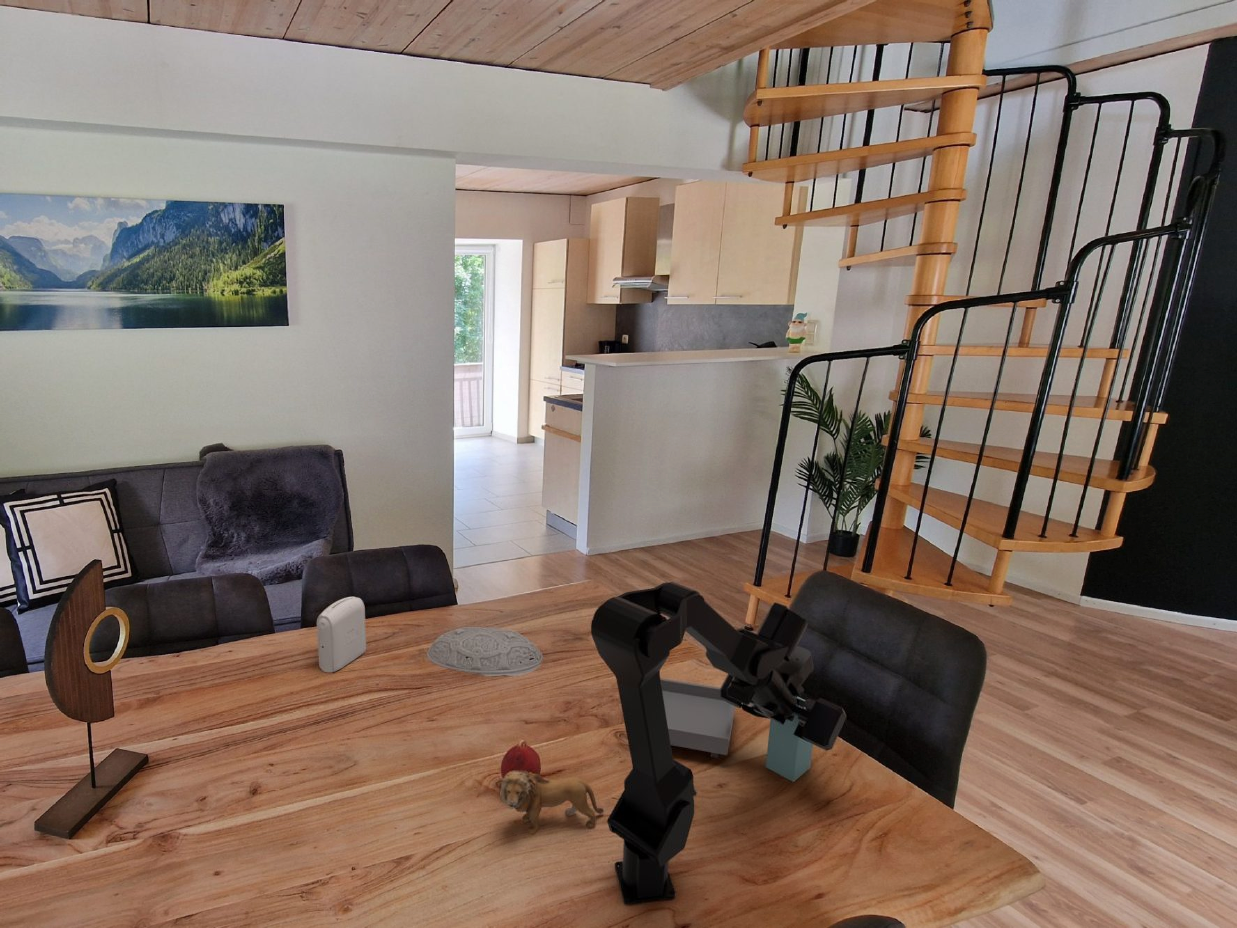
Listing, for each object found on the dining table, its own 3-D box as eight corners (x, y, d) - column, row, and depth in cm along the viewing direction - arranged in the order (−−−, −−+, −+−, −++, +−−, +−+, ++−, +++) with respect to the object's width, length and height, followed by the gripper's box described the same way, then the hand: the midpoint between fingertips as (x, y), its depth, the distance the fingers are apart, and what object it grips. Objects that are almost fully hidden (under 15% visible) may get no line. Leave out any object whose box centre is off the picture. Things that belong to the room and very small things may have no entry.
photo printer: (334, 675, 140) (331, 613, 137) (315, 670, 141) (312, 609, 138) (369, 651, 149) (367, 593, 146) (352, 647, 150) (349, 589, 148)
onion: (533, 805, 107) (534, 756, 105) (494, 798, 108) (495, 749, 106) (545, 780, 113) (546, 733, 111) (508, 774, 114) (509, 727, 112)
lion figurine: (503, 847, 99) (504, 787, 97) (496, 820, 104) (496, 763, 102) (609, 825, 104) (611, 768, 102) (597, 801, 109) (599, 746, 107)
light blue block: (793, 781, 115) (800, 717, 112) (765, 766, 118) (771, 704, 116) (810, 767, 118) (817, 705, 116) (782, 753, 122) (789, 692, 119)
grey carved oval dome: (537, 680, 141) (537, 645, 140) (410, 673, 144) (408, 639, 143) (554, 650, 156) (554, 619, 155) (439, 644, 159) (438, 613, 158)
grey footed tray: (726, 766, 117) (728, 739, 116) (631, 748, 121) (633, 722, 120) (734, 714, 132) (737, 690, 131) (650, 700, 135) (651, 676, 134)
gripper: (848, 658, 104) (873, 701, 114) (736, 615, 116) (769, 657, 127) (813, 731, 100) (843, 769, 110) (702, 678, 112) (738, 717, 123)
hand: (796, 723), depth 118 cm, fingers closed on light blue block, 5 cm apart
